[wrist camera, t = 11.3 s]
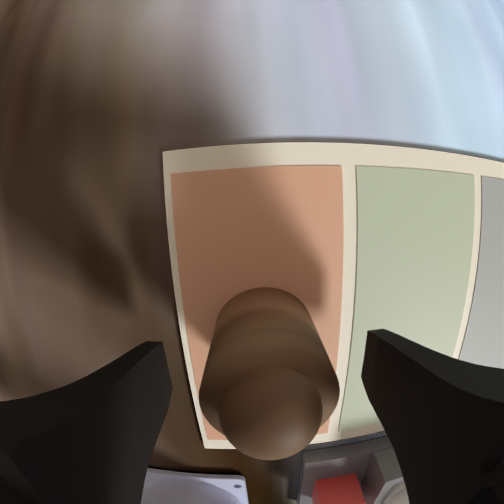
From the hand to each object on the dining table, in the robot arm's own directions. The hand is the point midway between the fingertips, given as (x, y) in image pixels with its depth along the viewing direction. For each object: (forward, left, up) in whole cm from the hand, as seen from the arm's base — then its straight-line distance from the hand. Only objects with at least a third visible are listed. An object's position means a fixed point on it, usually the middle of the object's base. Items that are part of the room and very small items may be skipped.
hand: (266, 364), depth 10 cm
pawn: (0, 0, -2) cm, 2 cm away
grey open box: (-12, -8, -3) cm, 14 cm away
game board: (0, -7, -3) cm, 7 cm away
